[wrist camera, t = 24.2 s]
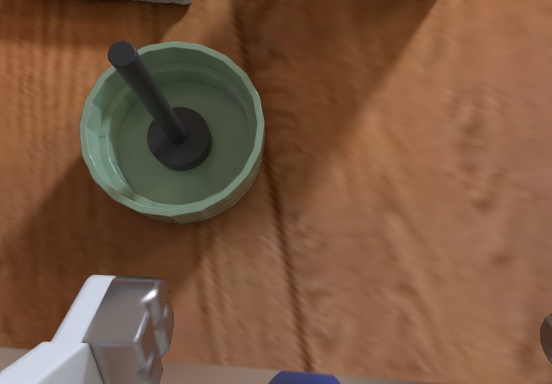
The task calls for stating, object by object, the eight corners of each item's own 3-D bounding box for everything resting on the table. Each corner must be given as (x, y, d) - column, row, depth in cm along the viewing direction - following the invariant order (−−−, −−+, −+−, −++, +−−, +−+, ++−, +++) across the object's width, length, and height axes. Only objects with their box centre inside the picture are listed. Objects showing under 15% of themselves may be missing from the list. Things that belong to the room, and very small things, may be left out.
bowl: (277, 207, 38) (278, 197, 33) (115, 237, 37) (88, 231, 32) (250, 61, 41) (246, 29, 36) (98, 86, 40) (71, 57, 35)
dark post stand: (216, 165, 38) (177, 90, 22) (157, 176, 38) (76, 107, 22) (207, 110, 39) (164, 2, 24) (149, 120, 39) (67, 17, 23)
